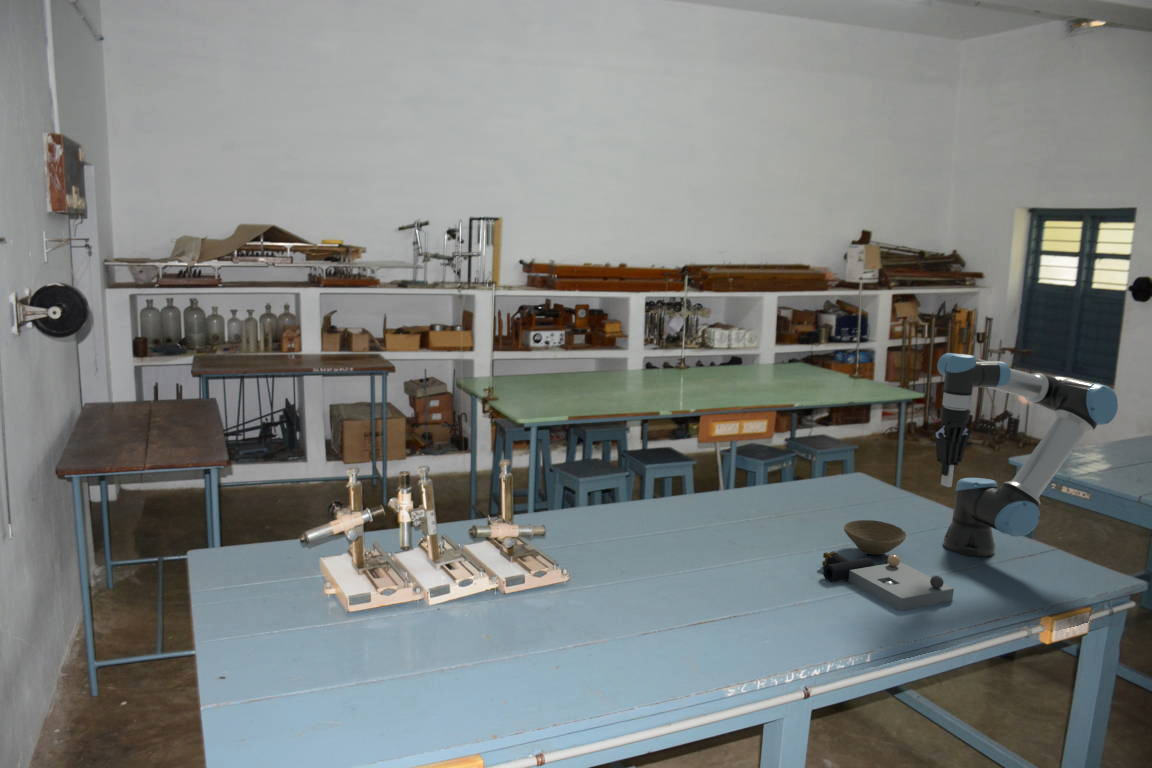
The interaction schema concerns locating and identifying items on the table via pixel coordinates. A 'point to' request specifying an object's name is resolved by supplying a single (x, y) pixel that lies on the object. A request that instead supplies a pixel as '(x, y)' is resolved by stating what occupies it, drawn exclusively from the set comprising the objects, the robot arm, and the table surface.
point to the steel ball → (889, 583)
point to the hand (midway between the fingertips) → (946, 485)
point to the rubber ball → (936, 582)
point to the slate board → (900, 586)
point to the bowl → (874, 536)
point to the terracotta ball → (893, 560)
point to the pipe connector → (841, 566)
